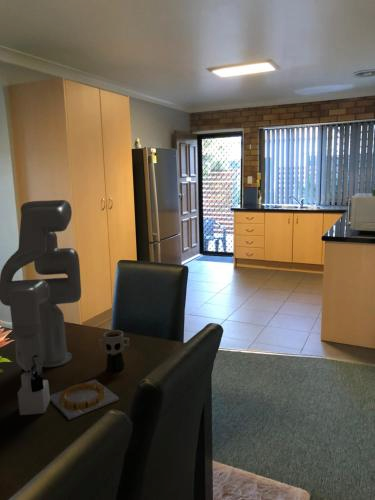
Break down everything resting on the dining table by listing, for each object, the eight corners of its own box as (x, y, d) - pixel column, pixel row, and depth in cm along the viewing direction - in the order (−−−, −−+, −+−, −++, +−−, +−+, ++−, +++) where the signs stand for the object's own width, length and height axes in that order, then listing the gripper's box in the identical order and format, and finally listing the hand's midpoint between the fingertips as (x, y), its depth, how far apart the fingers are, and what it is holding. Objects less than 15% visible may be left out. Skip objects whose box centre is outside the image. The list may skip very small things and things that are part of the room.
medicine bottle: (26, 402, 127) (22, 366, 125) (50, 400, 127) (46, 364, 125) (19, 415, 120) (14, 377, 118) (44, 413, 120) (40, 375, 118)
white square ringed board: (48, 398, 129) (47, 392, 129) (95, 381, 139) (94, 375, 138) (68, 420, 117) (68, 413, 116) (118, 399, 126) (118, 393, 126)
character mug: (98, 373, 144) (96, 338, 142) (101, 364, 151) (99, 331, 149) (130, 371, 145) (128, 336, 143) (131, 363, 152) (129, 329, 150)
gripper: (4, 324, 124) (11, 379, 127) (23, 340, 110) (29, 401, 113) (30, 318, 128) (35, 371, 131) (50, 333, 115) (56, 391, 118)
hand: (32, 384), depth 122 cm, fingers closed on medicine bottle, 7 cm apart
